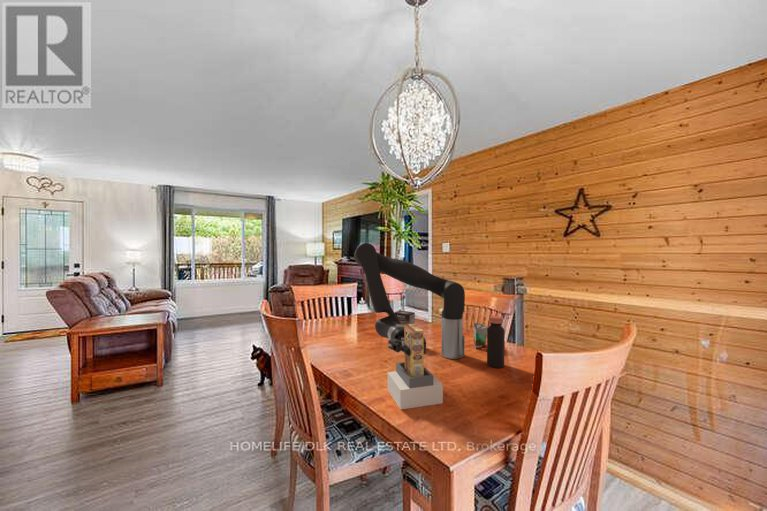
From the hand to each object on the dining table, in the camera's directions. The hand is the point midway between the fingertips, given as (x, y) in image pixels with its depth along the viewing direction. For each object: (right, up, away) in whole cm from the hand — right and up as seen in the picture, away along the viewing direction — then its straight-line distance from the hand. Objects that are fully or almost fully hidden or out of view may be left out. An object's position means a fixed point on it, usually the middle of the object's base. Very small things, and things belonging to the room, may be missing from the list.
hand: (416, 351), depth 102 cm
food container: (+37, -14, +54) cm, 67 cm away
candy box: (-1, -8, +3) cm, 9 cm away
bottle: (+36, -15, +30) cm, 49 cm away
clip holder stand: (-1, -15, +3) cm, 16 cm away
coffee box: (0, -14, +58) cm, 60 cm away
